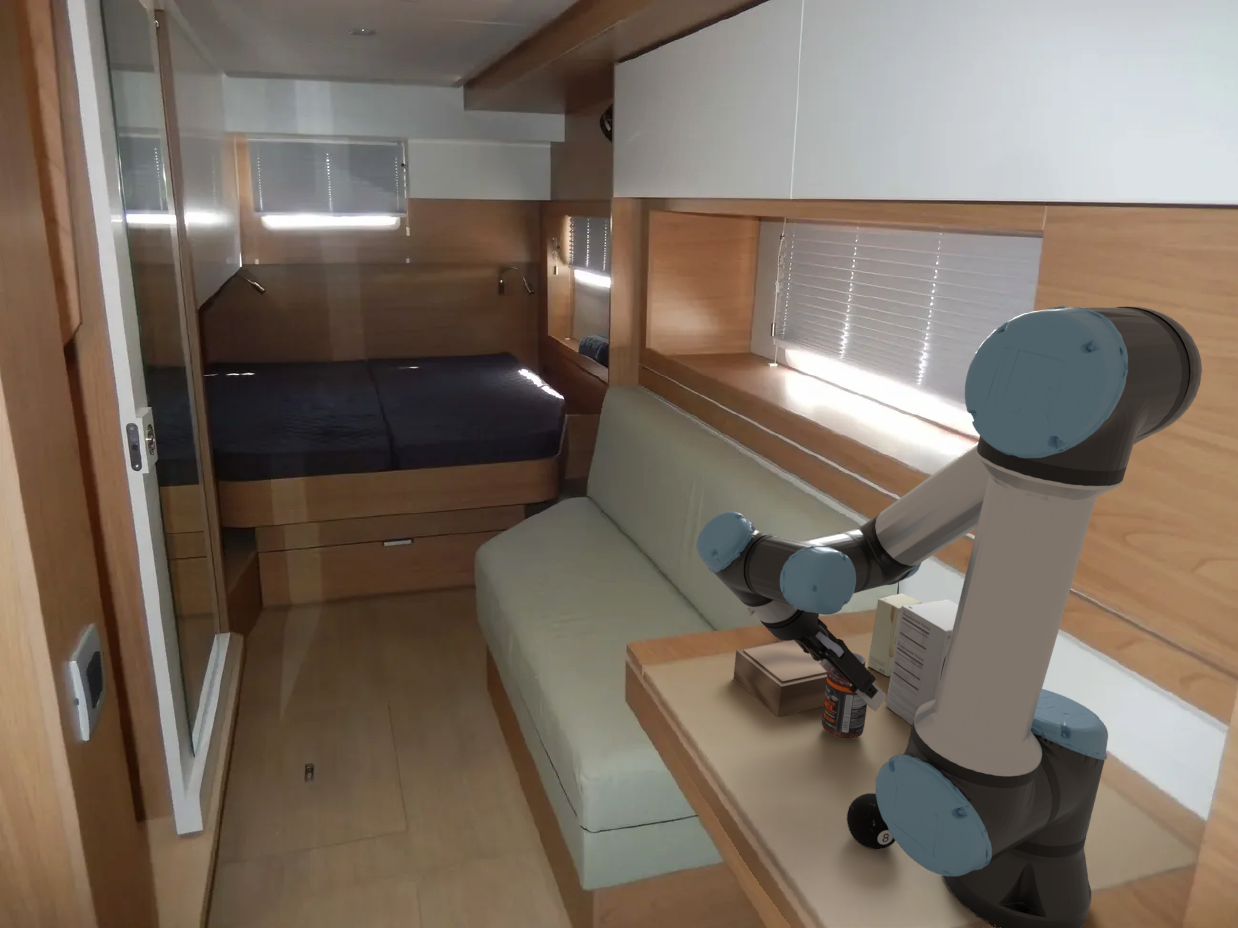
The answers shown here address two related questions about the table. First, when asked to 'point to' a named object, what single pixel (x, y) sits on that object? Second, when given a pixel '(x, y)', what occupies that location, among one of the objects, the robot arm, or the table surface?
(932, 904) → the table surface
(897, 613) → the skincare box
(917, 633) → the supplement box
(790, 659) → the wooden box
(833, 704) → the supplement bottle
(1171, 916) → the table surface
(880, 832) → the billiard ball
